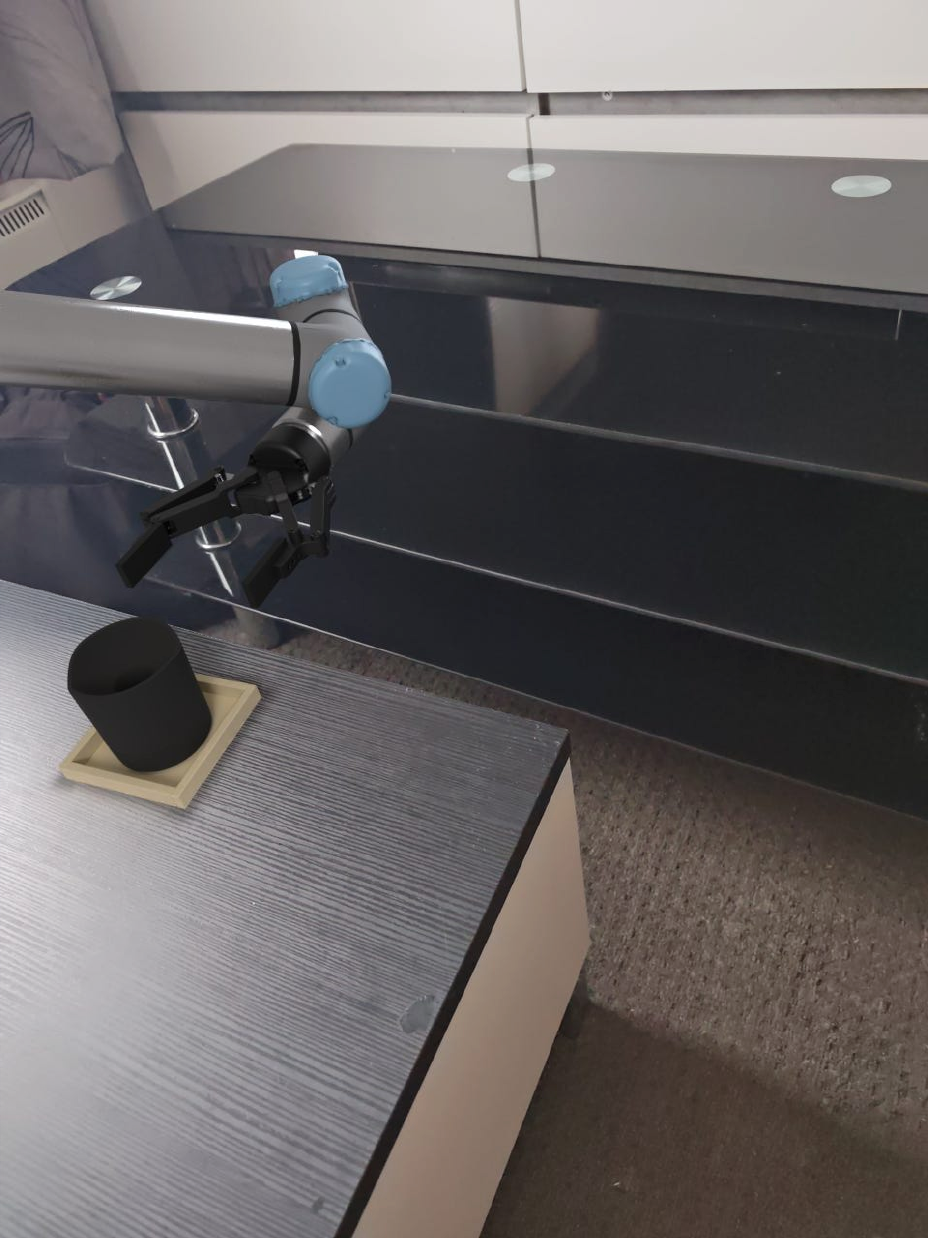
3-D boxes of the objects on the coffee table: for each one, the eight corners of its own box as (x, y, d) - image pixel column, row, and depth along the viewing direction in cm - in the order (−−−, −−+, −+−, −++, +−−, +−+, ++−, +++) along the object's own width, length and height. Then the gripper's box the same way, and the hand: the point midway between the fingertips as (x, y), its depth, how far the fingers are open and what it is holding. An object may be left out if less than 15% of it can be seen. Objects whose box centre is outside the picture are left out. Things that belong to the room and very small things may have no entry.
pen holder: (237, 707, 82) (199, 625, 76) (177, 789, 76) (129, 708, 69) (155, 688, 86) (111, 609, 79) (91, 765, 80) (38, 686, 73)
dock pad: (68, 781, 79) (57, 767, 78) (152, 678, 88) (143, 663, 86) (186, 811, 75) (177, 797, 73) (263, 699, 83) (256, 684, 82)
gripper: (415, 494, 92) (318, 637, 79) (211, 474, 101) (92, 599, 87) (400, 429, 87) (294, 570, 74) (187, 414, 96) (57, 537, 83)
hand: (184, 586), depth 80 cm, fingers open, 13 cm apart
